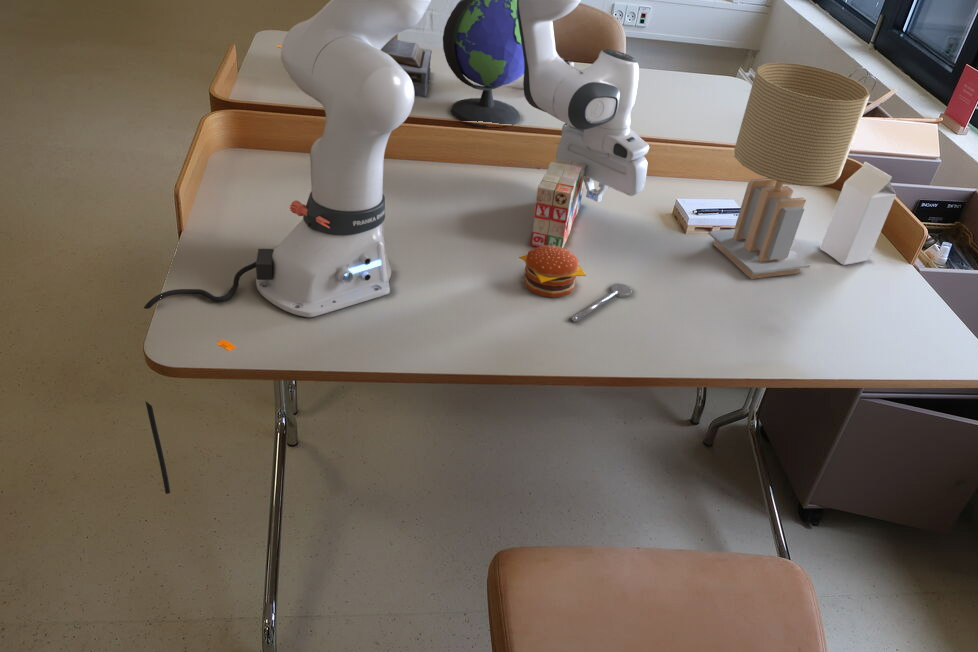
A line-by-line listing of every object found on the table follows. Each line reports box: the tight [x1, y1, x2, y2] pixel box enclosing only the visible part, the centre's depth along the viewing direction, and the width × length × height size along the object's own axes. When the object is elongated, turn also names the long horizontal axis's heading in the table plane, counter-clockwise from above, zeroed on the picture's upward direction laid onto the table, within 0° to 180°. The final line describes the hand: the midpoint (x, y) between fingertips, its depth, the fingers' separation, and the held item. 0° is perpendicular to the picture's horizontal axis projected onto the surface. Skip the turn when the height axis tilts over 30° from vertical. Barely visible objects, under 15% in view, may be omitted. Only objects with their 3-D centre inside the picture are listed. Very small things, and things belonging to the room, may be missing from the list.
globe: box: [442, 0, 524, 129], centre depth 198 cm, size 22×22×30 cm
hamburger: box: [518, 245, 587, 298], centre depth 143 cm, size 9×10×7 cm
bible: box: [381, 38, 433, 98], centre depth 215 cm, size 23×27×10 cm
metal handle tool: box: [571, 283, 632, 323], centre depth 142 cm, size 16×4×1 cm, turn 142°
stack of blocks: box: [529, 159, 586, 248], centre depth 160 cm, size 21×6×12 cm, turn 168°
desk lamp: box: [708, 61, 871, 280], centre depth 153 cm, size 20×20×35 cm
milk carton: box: [819, 161, 897, 266], centre depth 164 cm, size 7×7×19 cm
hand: (593, 199), depth 171 cm, fingers closed
